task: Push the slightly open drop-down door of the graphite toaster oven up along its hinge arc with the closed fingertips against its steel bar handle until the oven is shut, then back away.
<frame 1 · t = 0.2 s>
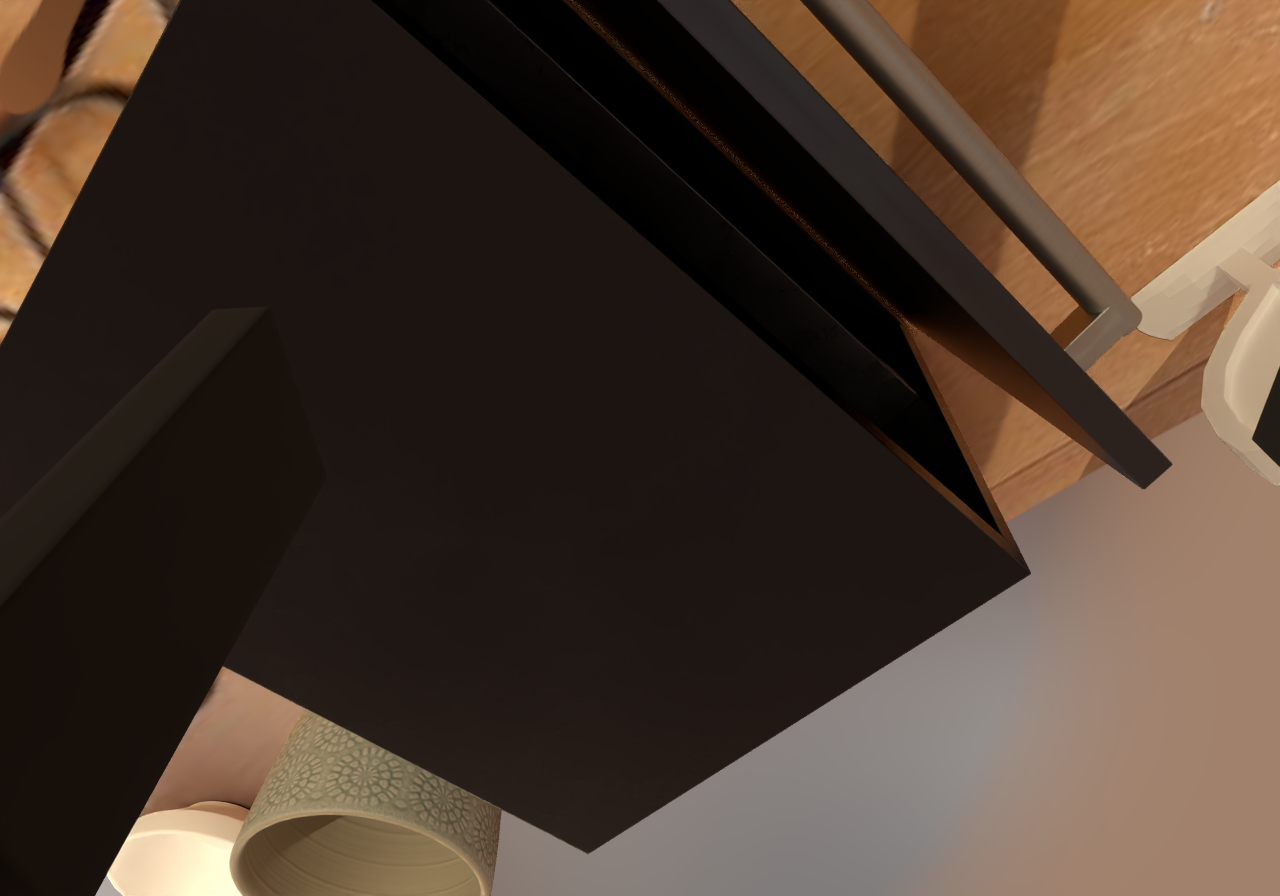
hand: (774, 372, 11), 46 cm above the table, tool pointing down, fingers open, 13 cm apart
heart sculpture: (1227, 258, 58), on the table
planter: (417, 697, 86), on the table
oven: (543, 301, 61), on the table
bowl: (228, 820, 99), on the table
oven door: (791, 101, 42), point 12 cm above the table, hinge at 12.7°
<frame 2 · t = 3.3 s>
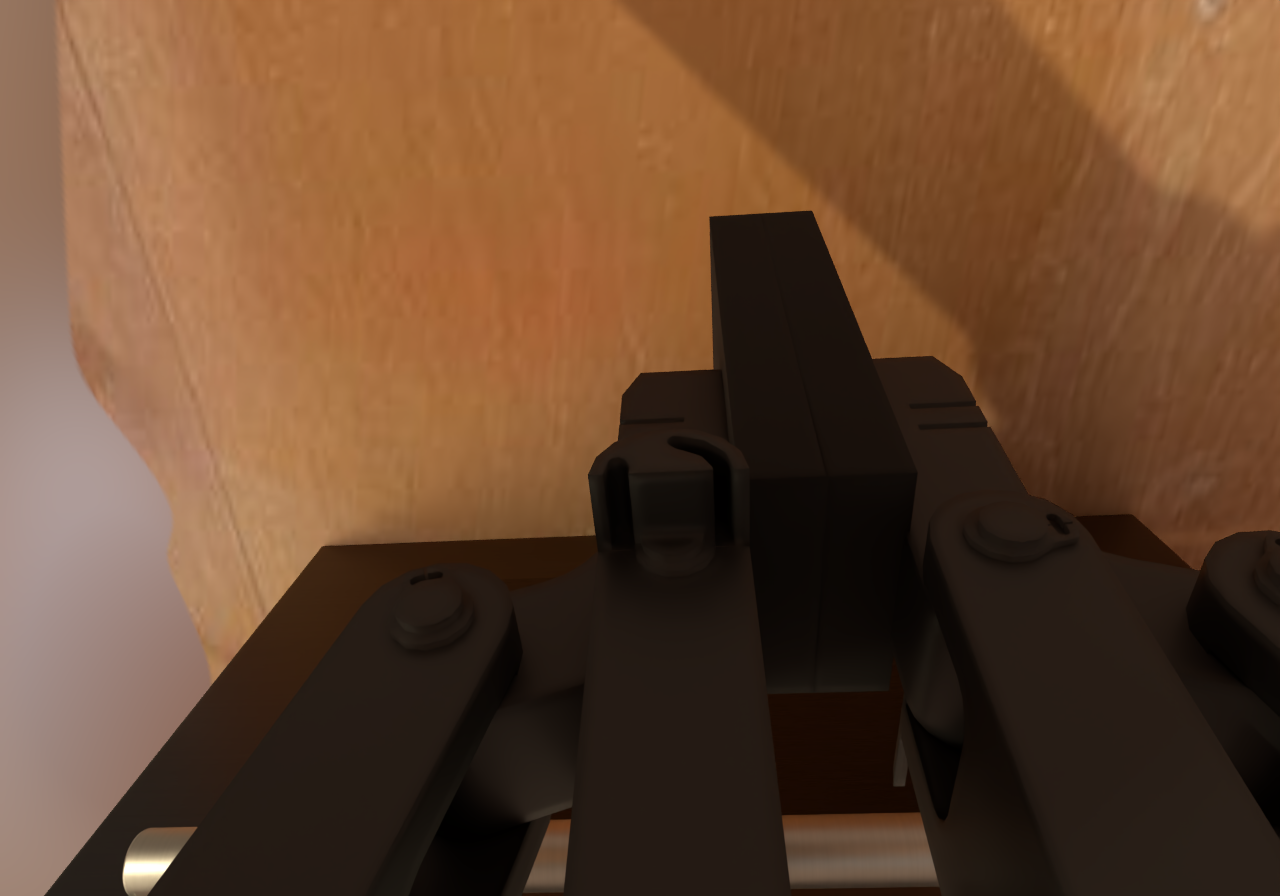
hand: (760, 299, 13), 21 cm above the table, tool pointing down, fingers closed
oven door: (730, 669, 31), point 12 cm above the table, hinge at 12.7°
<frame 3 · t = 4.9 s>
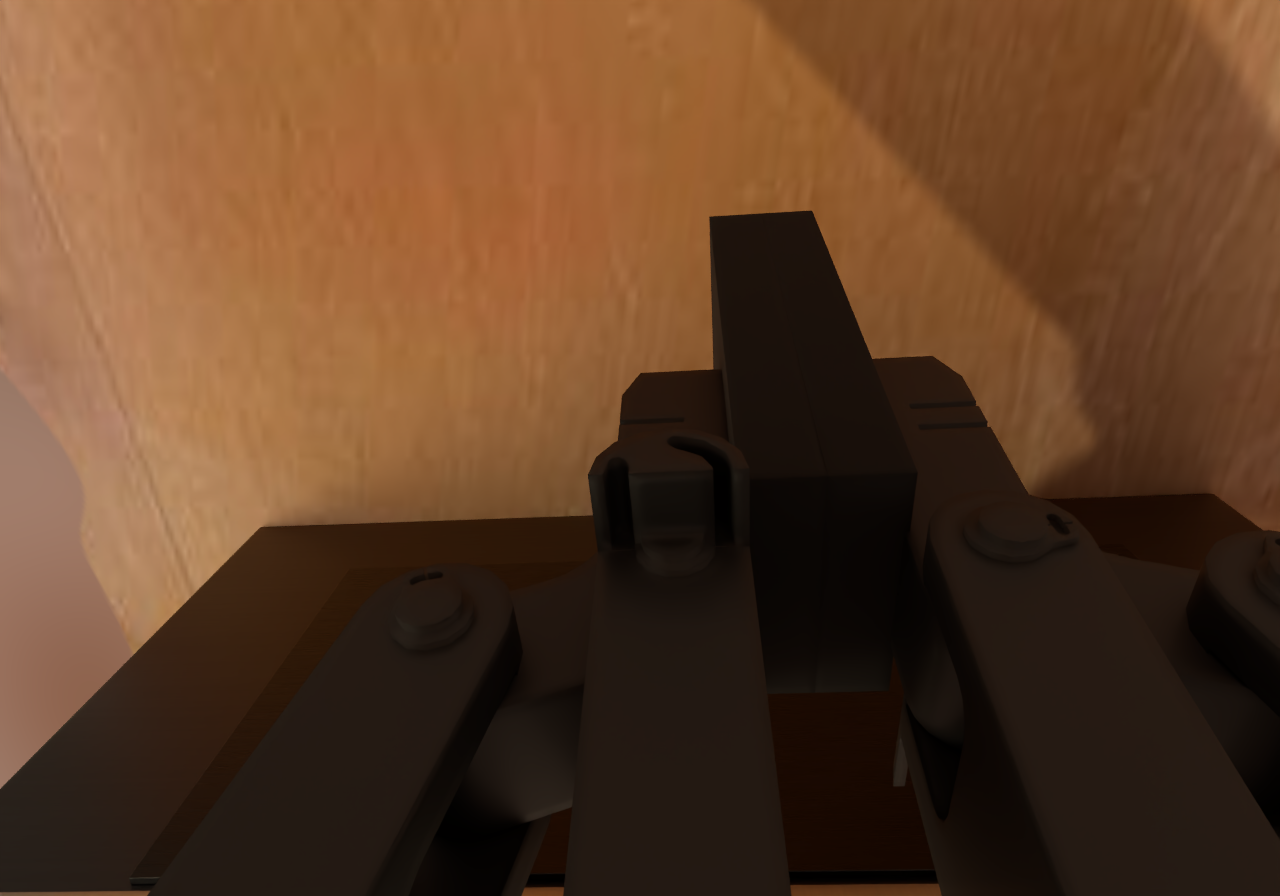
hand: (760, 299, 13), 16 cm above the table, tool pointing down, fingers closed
oven door: (740, 673, 24), point 12 cm above the table, hinge at 12.7°
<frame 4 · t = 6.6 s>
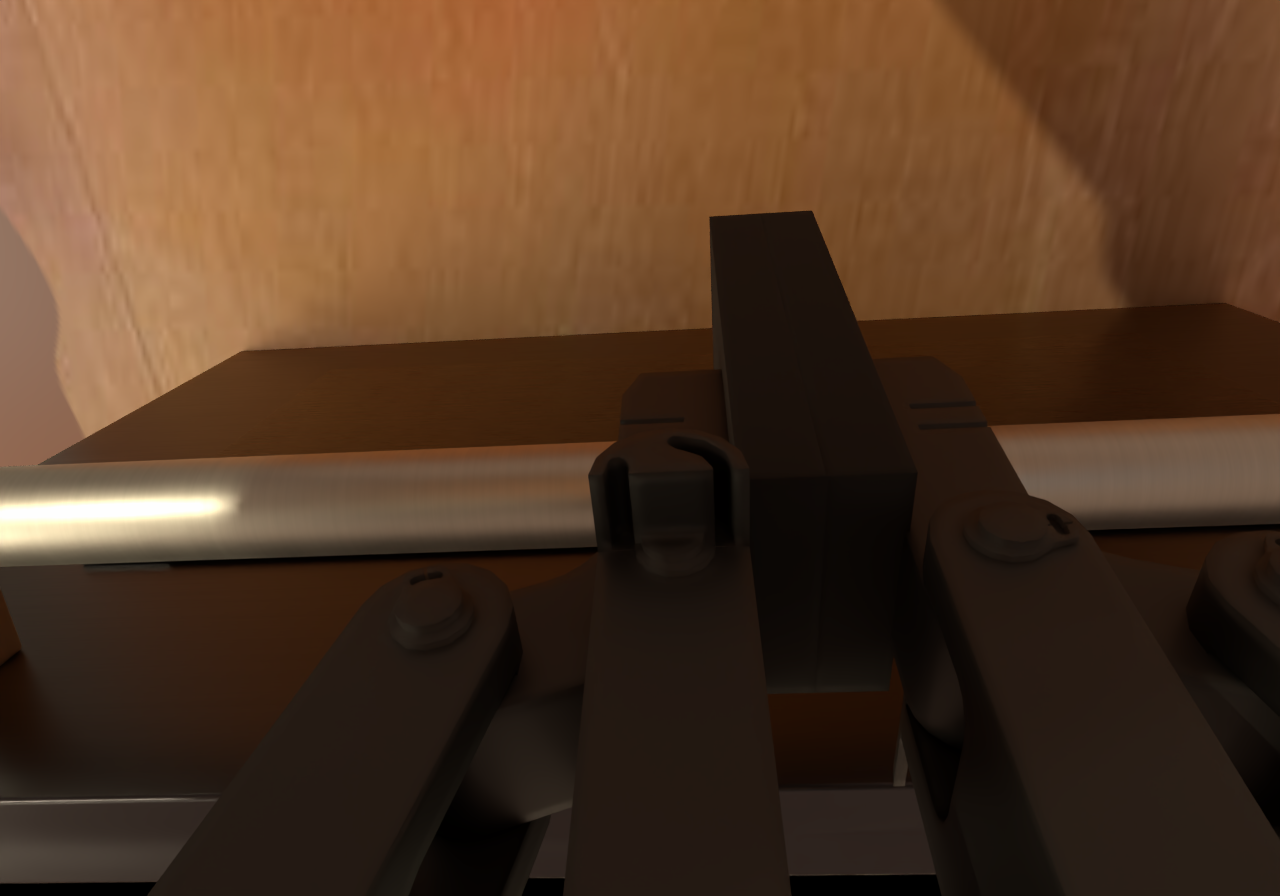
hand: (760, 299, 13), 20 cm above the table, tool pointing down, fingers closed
oven: (722, 637, 45), on the table
oven door: (733, 401, 23), point 12 cm above the table, hinge at 12.7°, touching gripper
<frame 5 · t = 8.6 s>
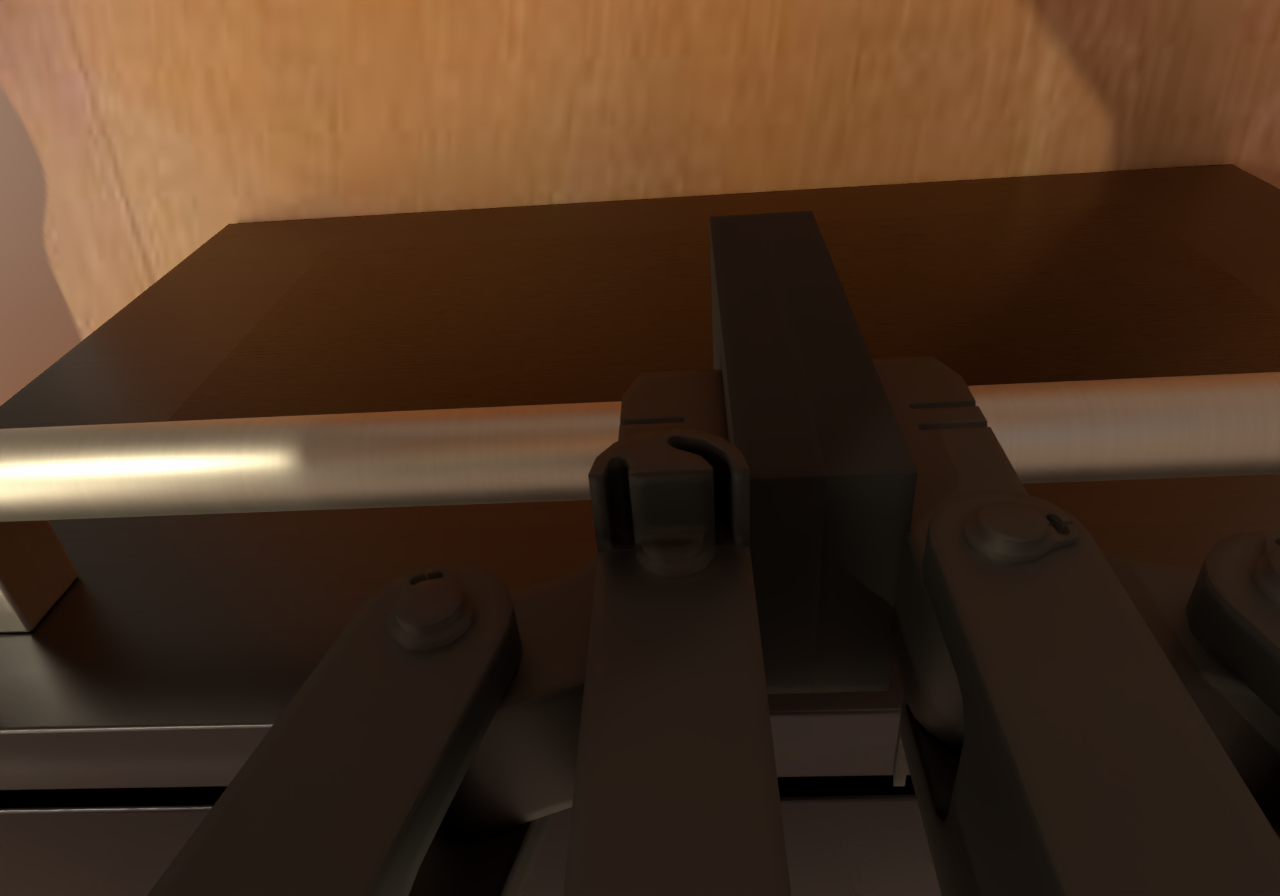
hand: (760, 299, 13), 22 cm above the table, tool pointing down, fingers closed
oven: (720, 537, 45), on the table
oven door: (729, 302, 23), point 13 cm above the table, hinge at 0.2°, touching gripper
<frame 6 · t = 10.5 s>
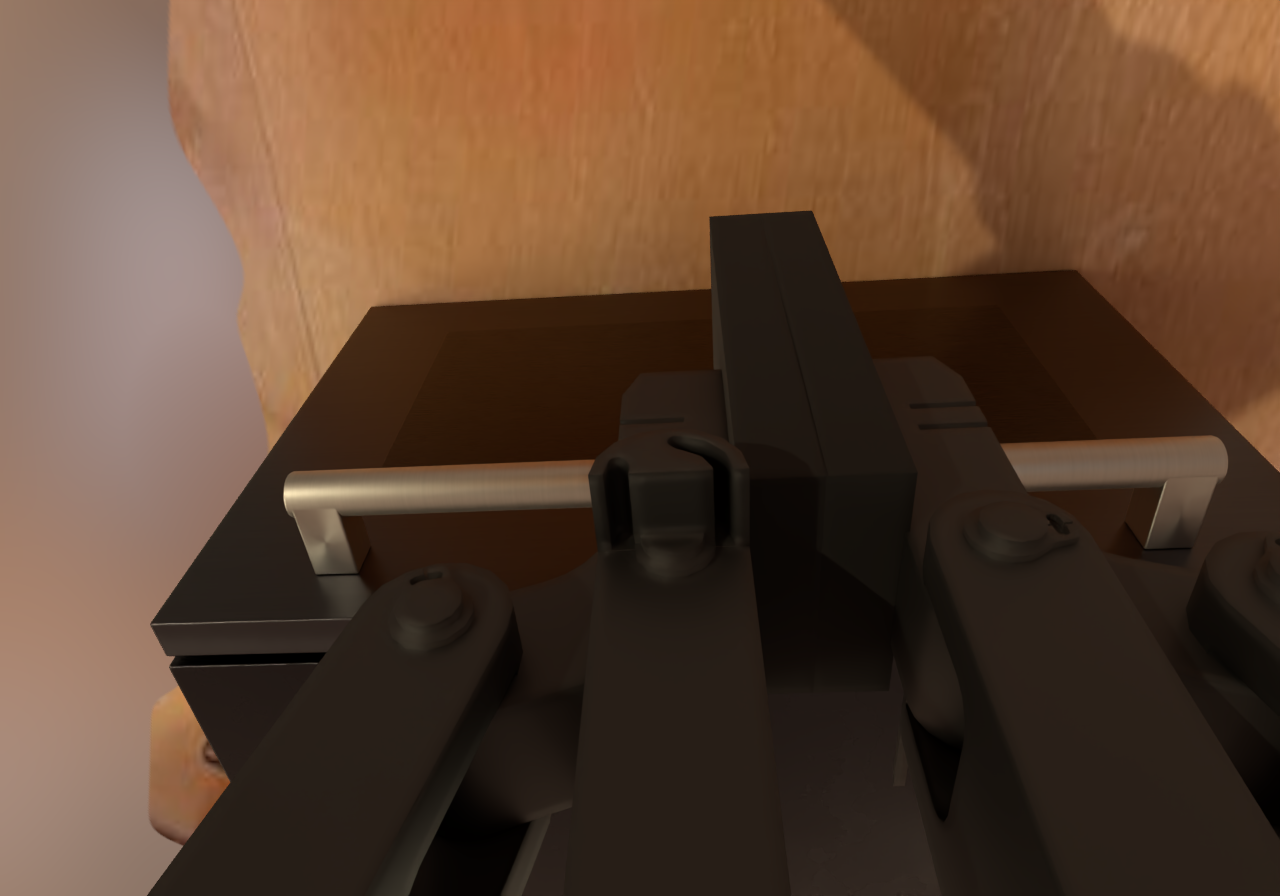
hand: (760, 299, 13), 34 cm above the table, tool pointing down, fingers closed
oven: (720, 531, 59), on the table
oven door: (724, 382, 38), point 13 cm above the table, hinge at 0.2°
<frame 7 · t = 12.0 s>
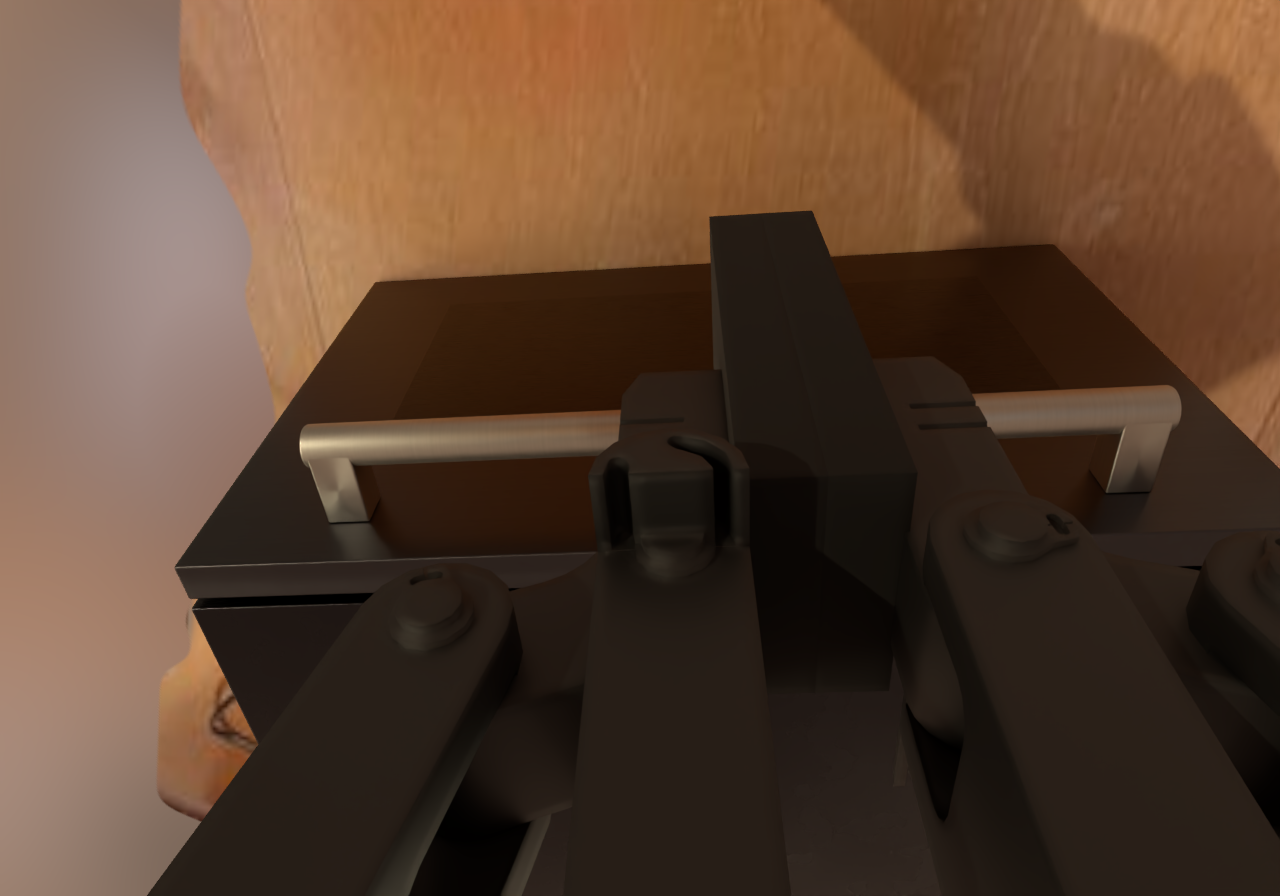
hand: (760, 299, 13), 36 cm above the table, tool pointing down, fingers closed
oven: (713, 501, 61), on the table
oven door: (714, 347, 40), point 13 cm above the table, hinge at 0.2°
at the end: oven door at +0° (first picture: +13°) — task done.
